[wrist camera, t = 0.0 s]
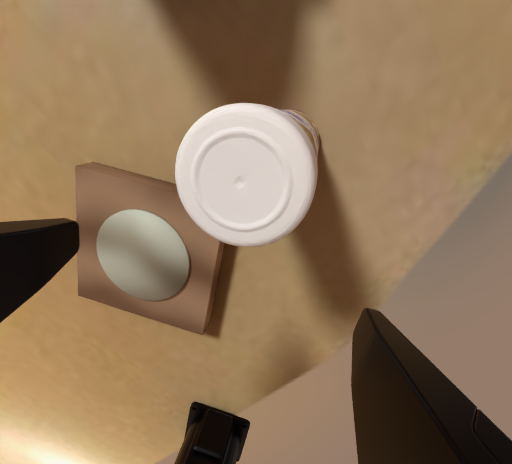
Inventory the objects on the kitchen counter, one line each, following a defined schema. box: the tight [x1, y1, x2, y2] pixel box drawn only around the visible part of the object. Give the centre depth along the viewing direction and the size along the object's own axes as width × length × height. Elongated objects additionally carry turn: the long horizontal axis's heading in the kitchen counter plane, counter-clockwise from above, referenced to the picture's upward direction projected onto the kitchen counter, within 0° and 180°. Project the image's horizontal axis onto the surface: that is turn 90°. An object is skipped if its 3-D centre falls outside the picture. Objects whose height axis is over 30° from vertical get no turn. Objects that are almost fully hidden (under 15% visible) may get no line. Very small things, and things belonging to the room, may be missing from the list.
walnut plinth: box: [75, 162, 225, 335], centre depth 26 cm, size 12×12×2 cm
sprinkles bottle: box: [175, 103, 320, 247], centre depth 15 cm, size 5×5×13 cm
